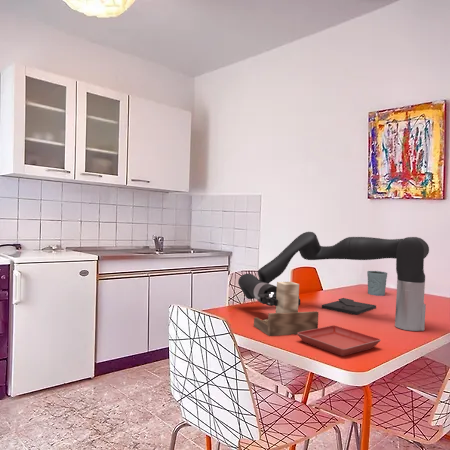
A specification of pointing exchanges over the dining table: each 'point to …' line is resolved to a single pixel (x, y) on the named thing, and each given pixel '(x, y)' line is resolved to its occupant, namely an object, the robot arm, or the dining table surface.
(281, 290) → the birch block
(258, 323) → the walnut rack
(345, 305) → the picture frame
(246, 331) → the dining table surface
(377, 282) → the grey-blue cup
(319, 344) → the plant saucer
